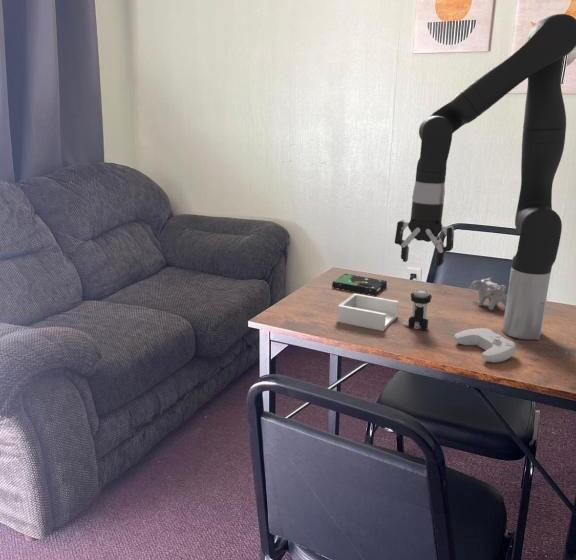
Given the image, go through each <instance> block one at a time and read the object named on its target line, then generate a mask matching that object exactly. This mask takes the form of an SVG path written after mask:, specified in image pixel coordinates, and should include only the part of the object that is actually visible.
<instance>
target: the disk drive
mask: <svg viewBox="0 0 576 560" xmlns="http://www.w3.org/2000/svg"><path fill="white" fill-rule="evenodd" d="M387 285H388V282H387V280H384V279H378V278H373V277H366V276H361V275H354V274H349V273H344V274H342V275H340V276H338V278H336V279H335V280H332V283H331V288H332V287H334V288H333V289H336V288H339V289H338V290H341V289H344V291H347V290H349V291H348V292H352V291H354V292H353V293H357V292H360V293H359V294H362V293H365V294H364V295H367V294H370V295H369V296H373V295H374V296H373V297H376V296H377V295H378V294H380V293H381V292H383V291H384V290H385V289H386V288H387ZM383 289H384V290H383ZM379 292H380V293H379ZM375 295H376V296H375Z"/></svg>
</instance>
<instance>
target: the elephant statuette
mask: <svg viewBox="0 0 576 560" xmlns="http://www.w3.org/2000/svg"><path fill="white" fill-rule="evenodd" d="M472 289H473V290H475V291H476V290H477V291H478V301H477V306H479V307H482V306H483V305H484V303H485V302H486V300H487V299H488V302H489V305H488V310H489V311H493V310H494V308H495V306H496V305H498V304H499V303H502V304H503V306H504V307H506V300H507V294H506V290H508V289H507V286H506V285H504V284H501V285H500V284H498V283H496V282H493V281H492V277H488V278H483V279H481V280H480V279H479V280H473V281H472V283H471V285H470V286H469V290H472Z"/></svg>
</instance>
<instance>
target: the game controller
mask: <svg viewBox="0 0 576 560" xmlns="http://www.w3.org/2000/svg"><path fill="white" fill-rule="evenodd" d="M453 338H454V341H455V342H457V343H458V344H460V345H462V346H478V347H480V348H481V349H483V350H485V351H483V352H482V353H481V359H483V360H484V361H487V362H488V363H502V362H505V361H506V360H509V359H510V358H512V357H513V356H514V355H515V353H516V351H517V347H516V343H515V342H514V341H513V340H509V339H507V338H505V337H503V336H502V335H501V334H498V333H496V332H494V331H493V330H492V329H490V328H487V327H486V328H483V327H482V328H481V327H480V328H478V327H477V328H471V329H466V330H461V331H458V332H456V333H455V334H454V336H453Z"/></svg>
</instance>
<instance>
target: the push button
mask: <svg viewBox="0 0 576 560" xmlns="http://www.w3.org/2000/svg"><path fill="white" fill-rule="evenodd" d="M431 299H432V294H430V292H429V291H428V290H425V289H415V290H414V292H411V293H410V300H411V302H413V303H412V312H411V314H410V315H411V316H410V317H409V318H407V319H406V318H404V319H403V324H404V325H408V327H409V328H412V329H415V330H421V331H424V332H425V331H427V329H428V328H429V318H428V316H427V314H428V313H427V311H428V304H429V303H431ZM405 321H406V322H405Z"/></svg>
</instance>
